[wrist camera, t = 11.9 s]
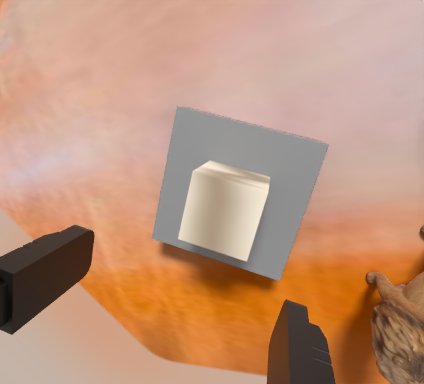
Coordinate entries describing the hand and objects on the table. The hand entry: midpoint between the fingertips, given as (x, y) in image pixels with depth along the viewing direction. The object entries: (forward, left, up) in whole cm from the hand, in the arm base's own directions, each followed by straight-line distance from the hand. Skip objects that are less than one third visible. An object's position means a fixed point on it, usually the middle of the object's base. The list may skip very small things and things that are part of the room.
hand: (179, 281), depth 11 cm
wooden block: (0, 0, -13) cm, 13 cm away
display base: (0, 0, -16) cm, 16 cm away
